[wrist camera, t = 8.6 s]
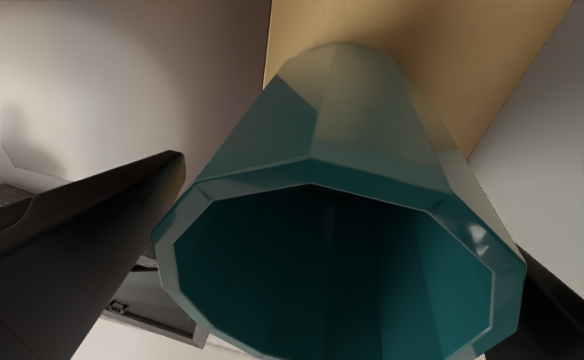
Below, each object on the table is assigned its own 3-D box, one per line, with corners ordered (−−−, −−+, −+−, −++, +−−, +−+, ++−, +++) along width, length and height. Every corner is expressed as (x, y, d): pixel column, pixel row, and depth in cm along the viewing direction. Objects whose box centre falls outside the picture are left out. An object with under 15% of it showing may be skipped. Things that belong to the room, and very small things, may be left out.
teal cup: (460, 66, 10) (658, 242, 3) (385, 207, 14) (411, 402, 8) (269, 22, 10) (121, 110, 4) (252, 173, 14) (171, 335, 8)
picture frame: (233, 267, 22) (2, 183, 20) (223, 290, 20) (-28, 201, 19) (209, 333, 30) (42, 275, 29) (200, 353, 28) (24, 293, 27)
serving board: (595, -71, 8) (628, -77, 7) (393, 249, 17) (395, 265, 16) (-157, -227, 9) (-218, -251, 8) (31, 156, 18) (13, 166, 17)
